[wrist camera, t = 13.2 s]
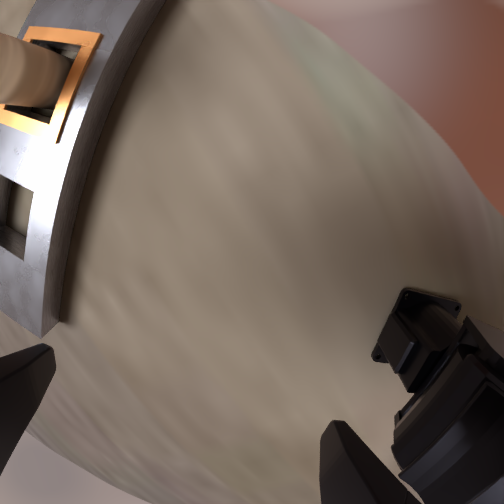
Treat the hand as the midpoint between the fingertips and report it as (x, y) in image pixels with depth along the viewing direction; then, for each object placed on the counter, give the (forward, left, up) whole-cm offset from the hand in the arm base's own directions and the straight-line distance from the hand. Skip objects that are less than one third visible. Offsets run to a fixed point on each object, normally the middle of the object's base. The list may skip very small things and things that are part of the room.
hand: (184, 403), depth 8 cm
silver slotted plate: (+16, -5, -13) cm, 21 cm away
